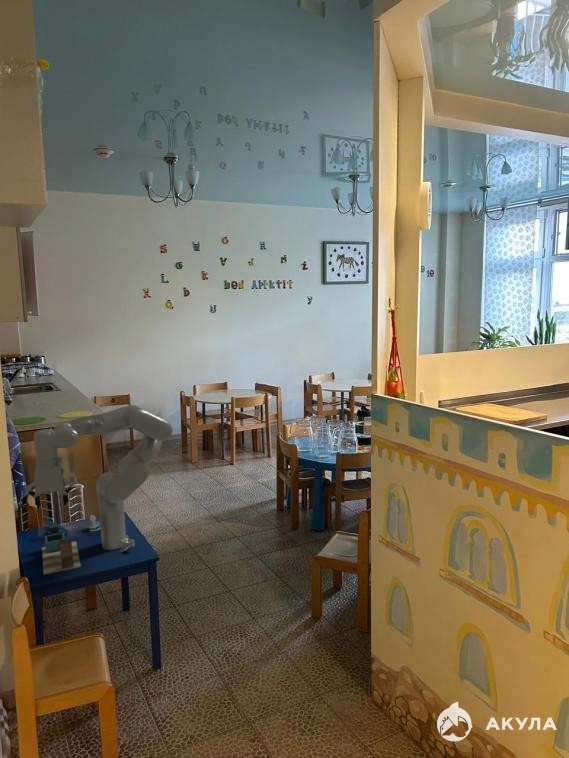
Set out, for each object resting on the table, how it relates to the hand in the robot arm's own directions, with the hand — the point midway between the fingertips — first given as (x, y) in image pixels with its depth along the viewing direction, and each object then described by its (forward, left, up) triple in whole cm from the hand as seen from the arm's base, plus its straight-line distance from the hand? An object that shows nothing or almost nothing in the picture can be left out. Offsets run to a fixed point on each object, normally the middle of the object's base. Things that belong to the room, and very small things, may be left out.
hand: (52, 505), depth 215 cm
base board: (0, -2, -24) cm, 24 cm away
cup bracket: (+3, -4, -22) cm, 23 cm away
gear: (+14, -23, -24) cm, 36 cm away
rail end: (-6, +4, -22) cm, 23 cm away
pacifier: (+2, -31, -24) cm, 39 cm away
